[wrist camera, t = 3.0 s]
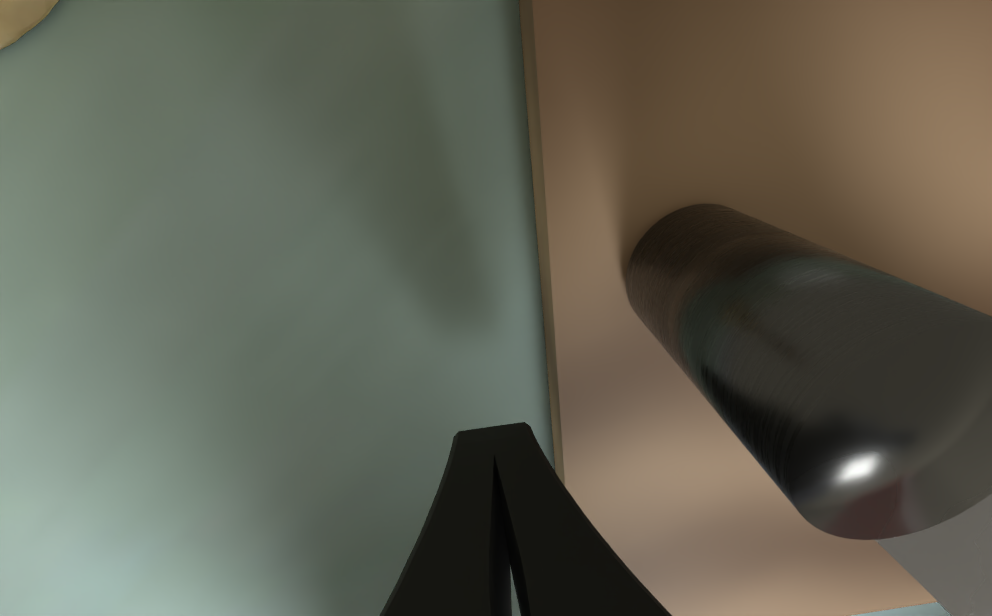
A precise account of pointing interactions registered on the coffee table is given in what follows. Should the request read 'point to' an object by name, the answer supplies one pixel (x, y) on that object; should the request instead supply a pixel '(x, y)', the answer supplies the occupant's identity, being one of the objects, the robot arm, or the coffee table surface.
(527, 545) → the robot arm
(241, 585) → the coffee table surface
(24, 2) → the hand bell
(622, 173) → the press base
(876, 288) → the lever
